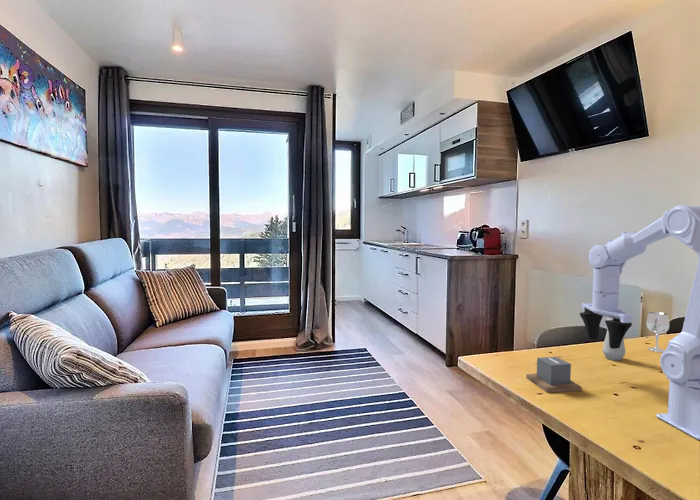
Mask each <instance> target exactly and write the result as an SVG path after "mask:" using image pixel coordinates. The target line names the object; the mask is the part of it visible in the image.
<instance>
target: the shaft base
mask: <svg viewBox="0 0 700 500" xmlns="http://www.w3.org/2000/svg"><path fill="white" fill-rule="evenodd" d="M525 378H526V379H527V380H528V381H530V382H532V384H534V385H536V386H537V387H538V388H540V389H541V390H543V391H544V392H546V393H561V392H564V393H565V392H580V391H582V389H583V387H582V386H581V385H580V384H578V383H577V382H574V381H573V380H571V379H570V384H560V385H549V384H548V383H546V382H544V381H543V380H541V379H539V378H538V377H537V373H526V374H525Z"/></svg>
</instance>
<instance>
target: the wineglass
mask: <svg viewBox="0 0 700 500" xmlns="http://www.w3.org/2000/svg"><path fill="white" fill-rule="evenodd" d="M646 327H647V329H648V330H649V331H651V332H652V333H655V335H654V337H655V346H654V347H648V348H647V350H648V351H651V352H656V353H663V352H664V351H665V350H666V349H662V348H660V347H659V346H658V345H659V344H658V343H659V339H660V334H664V333H666V332H668V331H669V330H670V319H669V314H668V313H665V312H660V311H649V313H648V314H647V318H646Z"/></svg>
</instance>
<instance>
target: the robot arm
mask: <svg viewBox="0 0 700 500" xmlns="http://www.w3.org/2000/svg"><path fill="white" fill-rule="evenodd" d="M670 236H672V237H673V238H675V239H676V240H678V241H679V242H681V243H682V244H683V245H685V246H686V247H688V248H689V249H691V250H693V252H695V253H696V254H697V256H698V261H697V265H696V266H697V267H696V271H695V274H694V279H693V283H692V286H691V290H690V291H691V292H690V295H689V299H688V303H687V308H686V311H685V315H684V316H685V317H684V321H683V325H682V330H681V332H680V333H679V334H677V335H675V336H674V337H673V338H671V339H669V341H668V343H667V347H666V349H664V350H665V351H664V352H661V356H660V358H659V363H660V368H661V370H662V372H663V374H664V376H666V379H667V380H669V386H668V401H667V402H668V405H667V413H656V414H655V416H656V418H658V419H660V420H662V421H664V422H665V423H667V424H670V425H671V426H673V427H675V428H676V429H678V430H680V431H682V432H684V433H686V434H687V435H689V436H690V437H692V438H694V439H697V440H699V441H700V205H687V204H681V205H675V206H673V207H672V208H671V209H669V210H666V211H665V212H663V214H662V216H661V217H659V218H658V219H656V220H654V221H653V222H651V223H650V224H648V225H647V226H645V227H644V228H642V229H641V230H639V231H638V232H637V231H636V232H634V231H623V232H621V233H620V236H619V237H616V238H615V239H613V240H609V241H607V243H605V244H604V245H600V244H597V245H594V246H593V247H591V248H590V251H589V252H588V262H589V264H590V266H592V267H593V270H592V271H593V273H592V297H591V299H592V300H591V303H589V302H582V303H581V311H584V312H579V316H580V317H581V320H582V321H583V324H584V326H585V329H586V335H587V337H588V340H598V339H599V338H598V337H599V332H600V326H601V322H602V319H603V318H604V317H605V318H607V317H609V318H612V319H613V320H607V319H606V320H605V321H604V322H605V324H606V328H607V329H608V332H609V345H610V348H612V349H616V348H620V345H621V342H622V340H624V337H625V335H626V334H627V332H628V330H629V329H630V328H631V327H632V325H633V323H632V321H631V320H632V315H631V314H628V313H626V312H624V311H622V308H619V303H620V302H619V301H620V299H619V296H620V282H621V281H620V276H621V275H622V274H623V268H624V266H625V265H626V263H627V261H630V260H631V259H633V258H635V257H638V256H640V255H641V254H644V253H645V251H646V250H647V247H648V246H649V245H652V244H653V243H656V242H658V241H661V240H663V239H665V238H668V237H670Z"/></svg>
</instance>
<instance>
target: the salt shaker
mask: <svg viewBox="0 0 700 500" xmlns="http://www.w3.org/2000/svg"><path fill="white" fill-rule="evenodd" d="M606 320H613V319H612V318H609V317H606ZM602 353H603V354H604V356H605V359H608V360H611V361H615V362H616V361H617V362H620V361H622V359H623V358H624V356H626V346H625V340H624V339H623V340H622V342H621V345H620V348H616V349H612V348H610V345H609V332H608V328H607V329H606V335H605V338H604V341H603V347H602Z"/></svg>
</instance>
